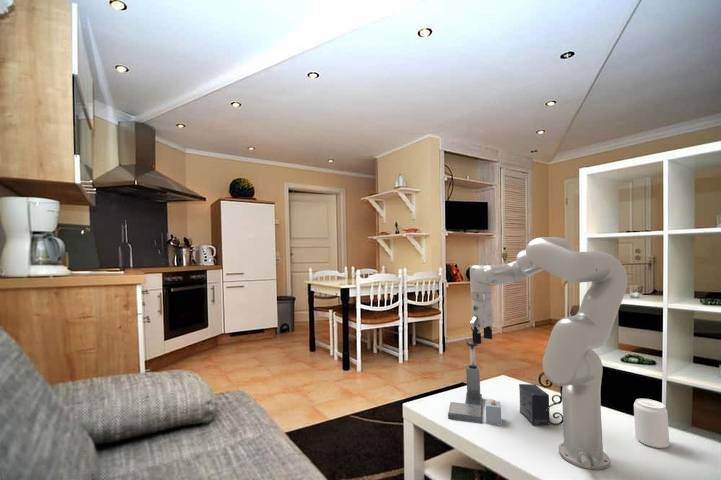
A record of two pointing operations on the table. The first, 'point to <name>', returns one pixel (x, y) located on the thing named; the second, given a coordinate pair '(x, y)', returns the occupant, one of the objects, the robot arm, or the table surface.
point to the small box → (534, 404)
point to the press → (469, 399)
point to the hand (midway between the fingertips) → (482, 340)
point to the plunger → (472, 352)
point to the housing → (493, 412)
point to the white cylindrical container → (651, 423)
